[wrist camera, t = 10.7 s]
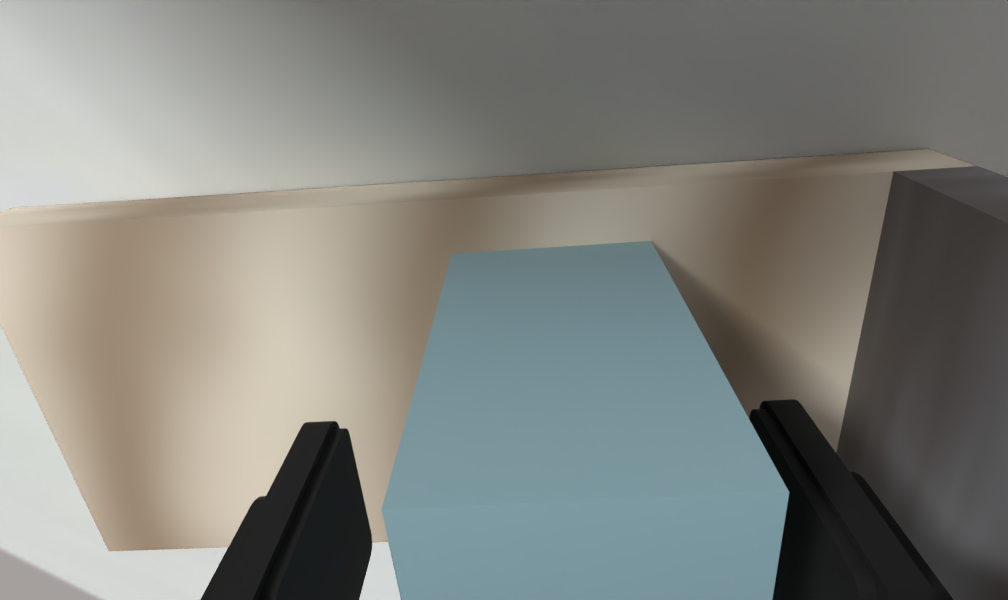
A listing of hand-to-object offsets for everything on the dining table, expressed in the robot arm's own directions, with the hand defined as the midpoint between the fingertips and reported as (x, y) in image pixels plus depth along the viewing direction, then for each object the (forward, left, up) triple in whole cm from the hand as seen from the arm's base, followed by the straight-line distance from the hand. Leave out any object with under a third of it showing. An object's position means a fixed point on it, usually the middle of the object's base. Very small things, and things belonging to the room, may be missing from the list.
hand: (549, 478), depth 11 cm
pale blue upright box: (0, 0, -3) cm, 3 cm away
